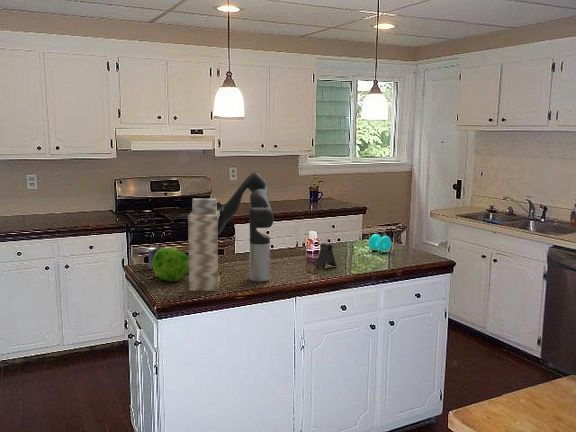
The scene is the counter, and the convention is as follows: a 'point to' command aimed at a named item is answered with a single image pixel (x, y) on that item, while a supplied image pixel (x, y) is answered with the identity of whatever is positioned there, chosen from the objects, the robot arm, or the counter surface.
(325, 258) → the door stopper
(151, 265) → the flask
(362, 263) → the counter surface
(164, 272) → the lettuce
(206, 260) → the beige patterned upright block
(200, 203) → the grey patterned block
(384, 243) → the turquoise double oval
